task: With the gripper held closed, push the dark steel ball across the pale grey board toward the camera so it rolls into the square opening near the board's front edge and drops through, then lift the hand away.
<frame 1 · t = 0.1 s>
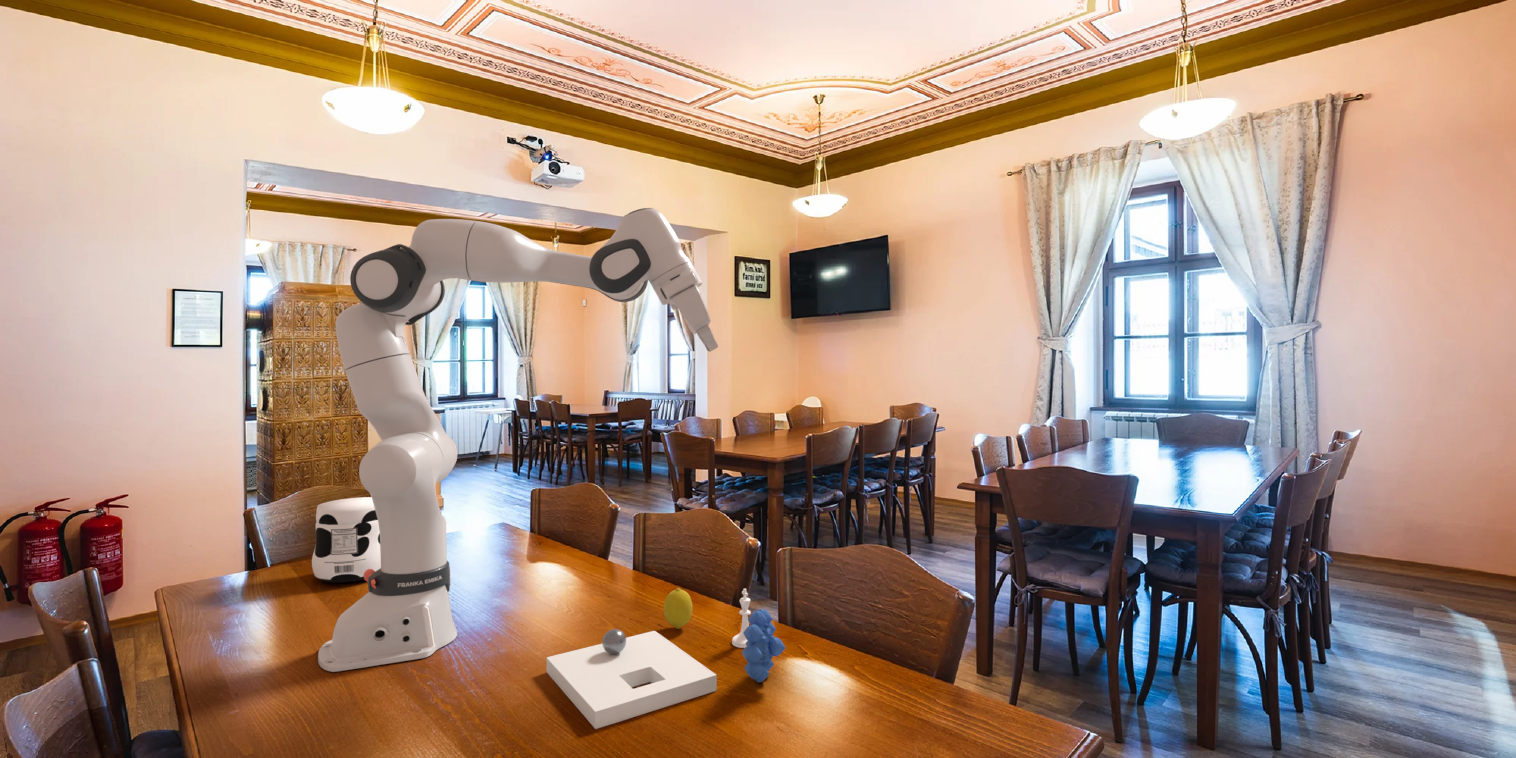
hand: (713, 349, 134), 54 cm above the table, tool tilted 30°, fingers open, 8 cm apart
grapes: (765, 683, 112), on the table
milk container: (354, 577, 169), on the table
lemon: (678, 629, 135), on the table
chess piece: (745, 643, 128), on the table
hole board: (629, 681, 113), on the table
steel ball: (614, 641, 117), point 4 cm above the table, touching hole board
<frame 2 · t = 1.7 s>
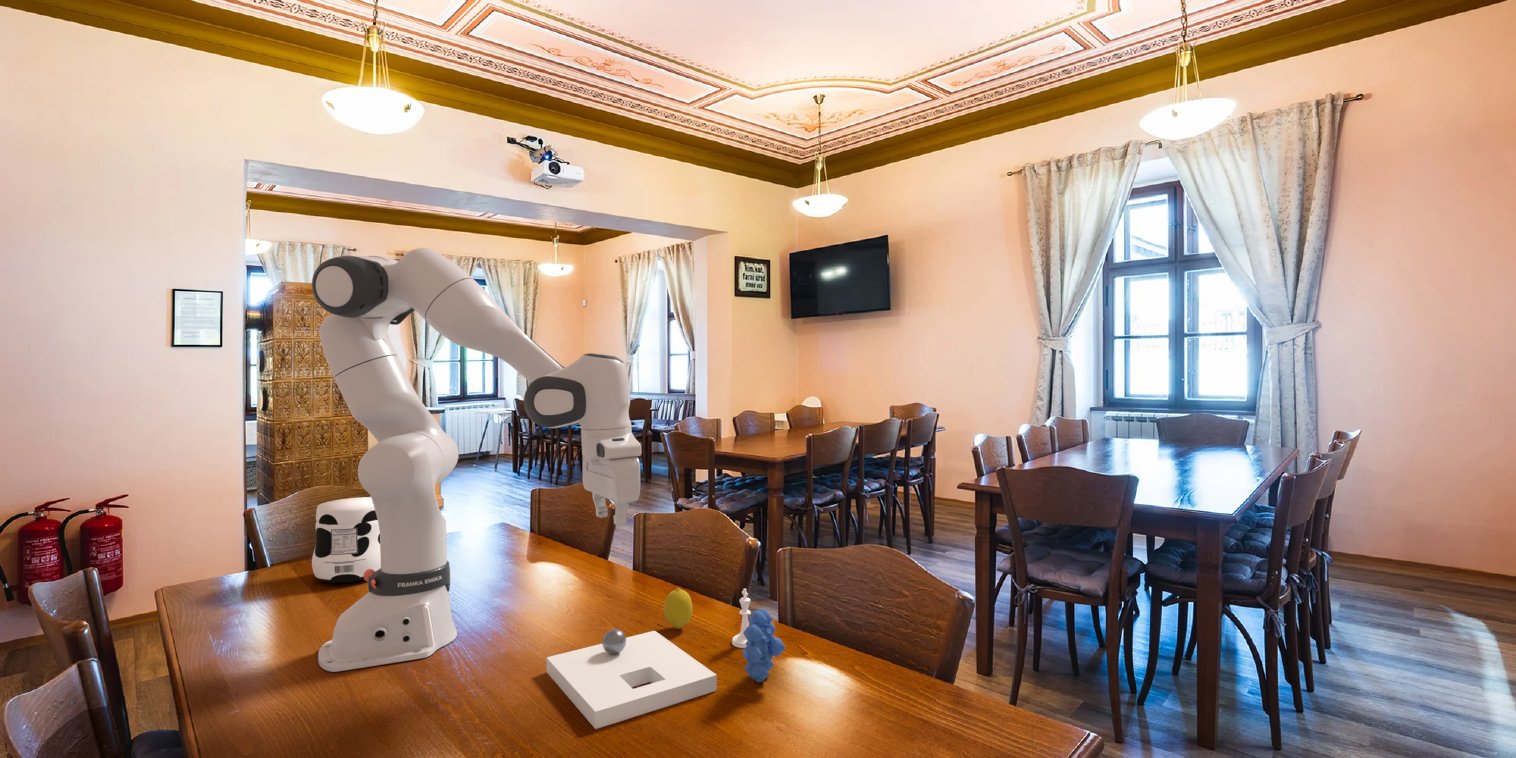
hand: (610, 521, 124), 24 cm above the table, tool pointing down, fingers open, 8 cm apart
nothing on the table moved.
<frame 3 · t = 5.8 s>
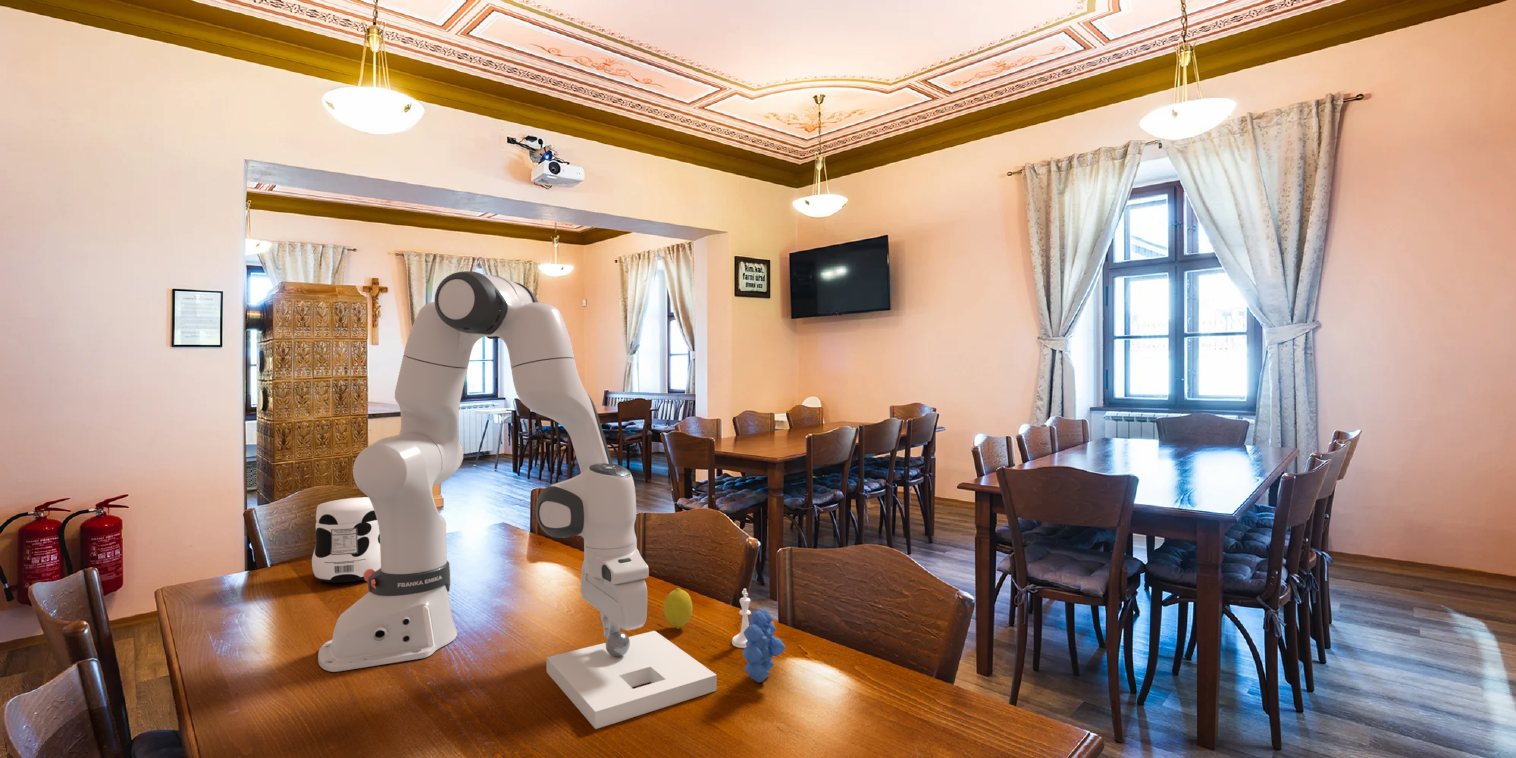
hand: (611, 638, 119), 4 cm above the table, tool pointing down, fingers closed
steel ball: (617, 644, 116), point 4 cm above the table, tilted 40°, touching gripper, hole board
everything else where it was.
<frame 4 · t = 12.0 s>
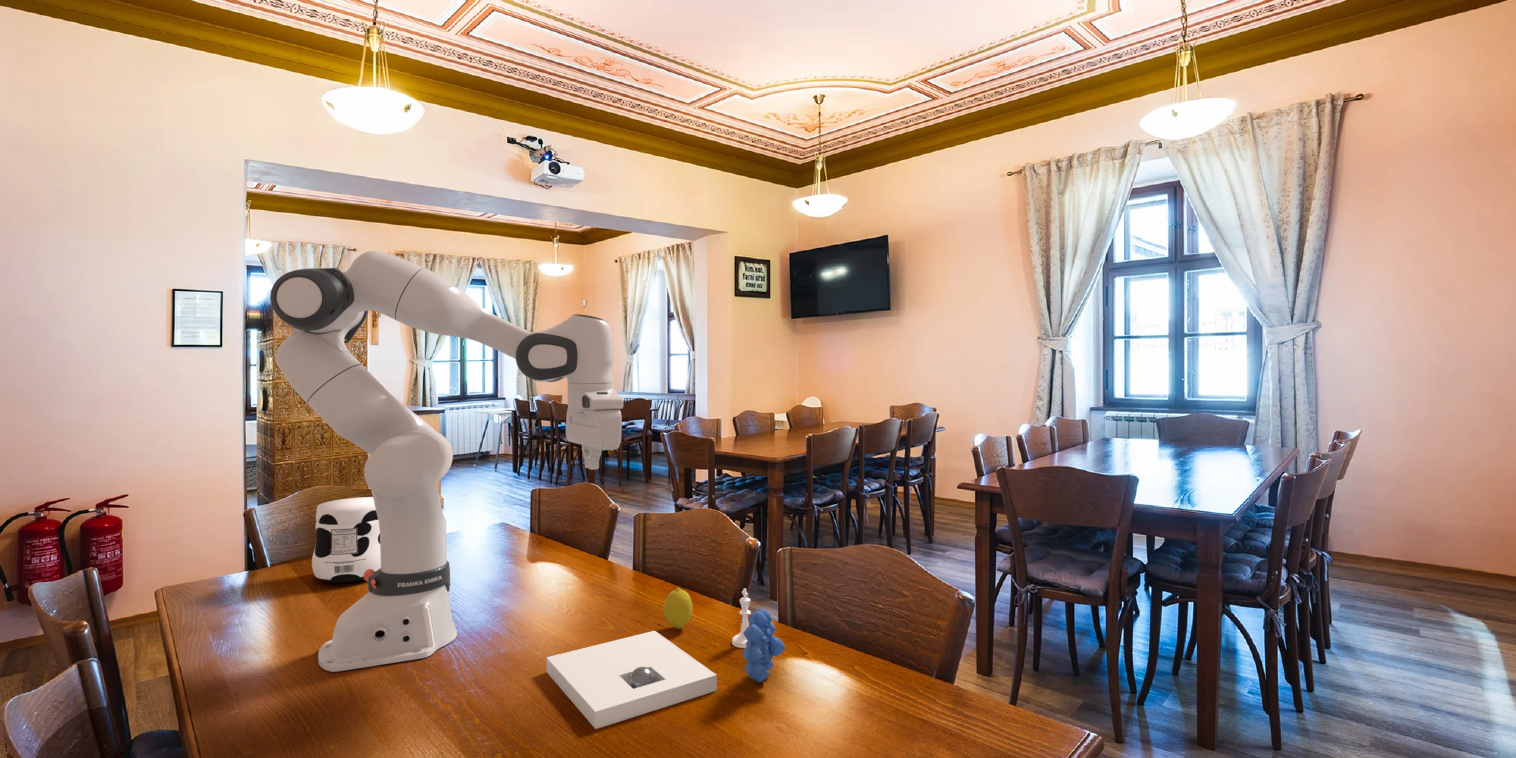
hand: (591, 468, 136), 31 cm above the table, tool pointing down, fingers closed
steel ball: (641, 680, 109), point 2 cm above the table, tilted 13°
everything else where it was.
at the end: steel ball 0.1 cm from the target spot on the hole board, point 2.0 cm above the hole board's base; steel ball touching table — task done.
